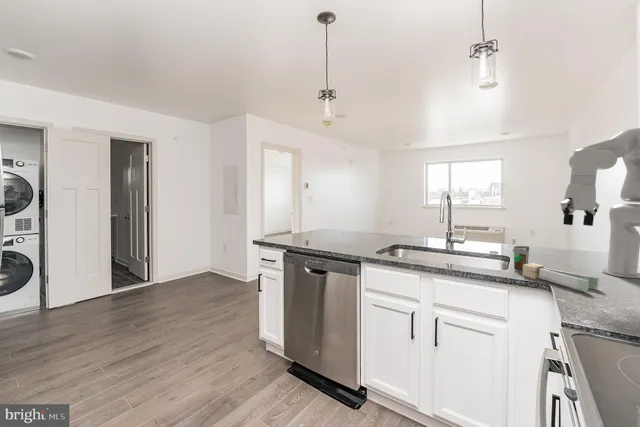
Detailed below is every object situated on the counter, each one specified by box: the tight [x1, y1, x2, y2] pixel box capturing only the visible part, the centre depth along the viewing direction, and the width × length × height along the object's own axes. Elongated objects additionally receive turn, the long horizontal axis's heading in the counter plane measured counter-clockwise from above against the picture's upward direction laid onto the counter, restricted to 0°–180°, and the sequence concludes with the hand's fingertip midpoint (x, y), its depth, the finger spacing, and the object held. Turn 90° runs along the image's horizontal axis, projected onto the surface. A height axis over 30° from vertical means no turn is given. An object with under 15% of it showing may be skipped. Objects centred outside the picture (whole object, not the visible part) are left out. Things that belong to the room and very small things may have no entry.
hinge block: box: [521, 263, 545, 280], centre depth 132 cm, size 6×5×5 cm
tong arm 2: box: [543, 267, 600, 290], centre depth 122 cm, size 18×2×4 cm, turn 34°
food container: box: [512, 245, 530, 272], centre depth 146 cm, size 12×6×10 cm, turn 141°
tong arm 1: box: [538, 269, 589, 293], centre depth 120 cm, size 18×2×4 cm, turn 16°
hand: (577, 225), depth 119 cm, fingers open, 9 cm apart
